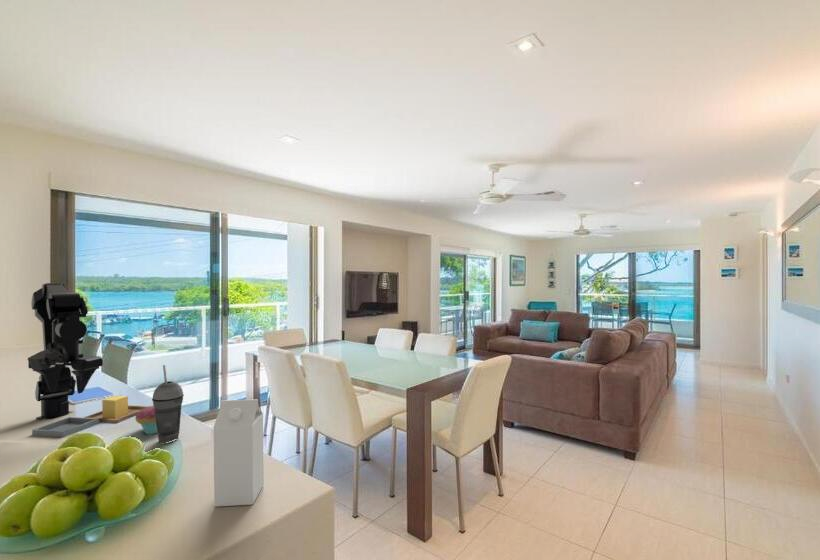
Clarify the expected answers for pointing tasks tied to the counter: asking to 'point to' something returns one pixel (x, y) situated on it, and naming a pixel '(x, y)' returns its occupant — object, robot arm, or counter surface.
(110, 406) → the block
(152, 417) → the cupcake
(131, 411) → the tray
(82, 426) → the dish
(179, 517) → the counter surface
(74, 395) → the tablet computer
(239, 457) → the milk carton
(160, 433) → the beverage cup
